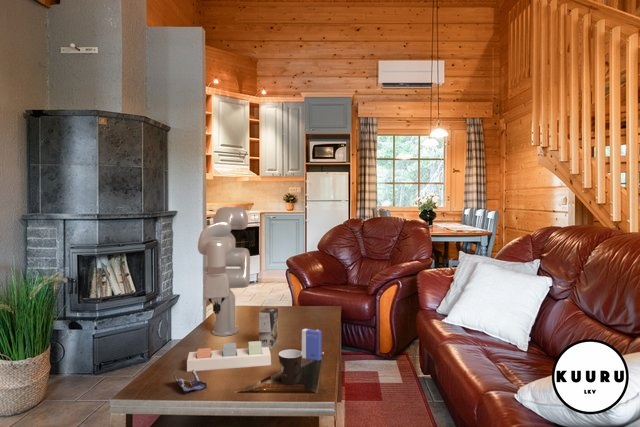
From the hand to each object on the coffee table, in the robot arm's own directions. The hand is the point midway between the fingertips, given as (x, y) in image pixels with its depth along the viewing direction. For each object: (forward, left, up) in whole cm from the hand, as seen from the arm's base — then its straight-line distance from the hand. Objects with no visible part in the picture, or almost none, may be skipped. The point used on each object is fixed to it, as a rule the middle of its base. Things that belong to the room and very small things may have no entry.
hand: (216, 313), depth 181 cm
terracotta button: (+4, -10, -17) cm, 20 cm away
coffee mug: (+42, 0, -19) cm, 45 cm away
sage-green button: (+17, +6, -16) cm, 24 cm away
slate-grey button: (+11, -2, -16) cm, 19 cm away
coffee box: (+8, +23, -19) cm, 30 cm away
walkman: (+33, +23, -19) cm, 44 cm away
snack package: (+16, -25, -19) cm, 35 cm away
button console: (+11, -2, -18) cm, 21 cm away
